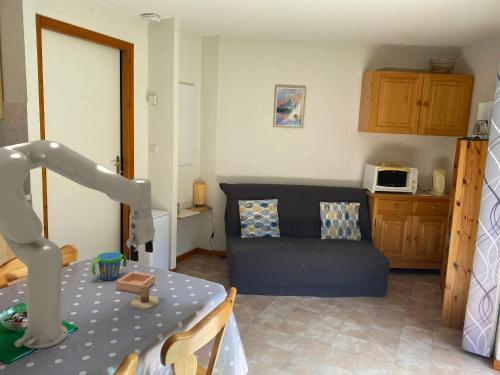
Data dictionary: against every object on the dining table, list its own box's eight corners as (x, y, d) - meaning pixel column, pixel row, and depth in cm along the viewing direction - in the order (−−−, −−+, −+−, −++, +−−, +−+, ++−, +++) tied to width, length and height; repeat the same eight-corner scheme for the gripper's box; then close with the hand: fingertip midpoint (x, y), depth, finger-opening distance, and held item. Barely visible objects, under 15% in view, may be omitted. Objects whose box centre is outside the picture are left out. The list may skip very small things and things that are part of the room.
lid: (150, 311, 139) (150, 296, 138) (125, 306, 141) (125, 292, 140) (162, 299, 148) (163, 285, 147) (140, 295, 151) (140, 281, 150)
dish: (141, 295, 152) (141, 285, 151) (116, 290, 155) (116, 281, 154) (154, 284, 163) (155, 275, 162) (131, 280, 166) (131, 271, 165)
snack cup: (121, 270, 177) (121, 249, 175) (131, 277, 169) (131, 255, 168) (87, 277, 166) (87, 255, 164) (96, 285, 158) (96, 262, 157)
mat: (151, 313, 137) (151, 312, 137) (121, 308, 140) (121, 307, 140) (166, 299, 149) (166, 299, 149) (139, 295, 152) (139, 294, 152)
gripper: (136, 219, 130) (137, 266, 133) (162, 208, 146) (162, 250, 149) (117, 216, 132) (119, 263, 135) (145, 206, 148) (146, 247, 151)
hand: (141, 256), depth 142 cm, fingers open, 9 cm apart
